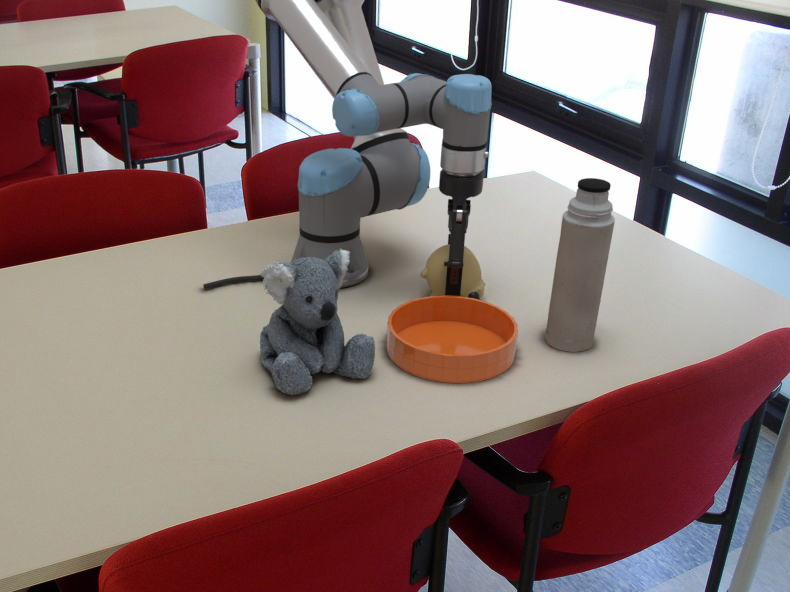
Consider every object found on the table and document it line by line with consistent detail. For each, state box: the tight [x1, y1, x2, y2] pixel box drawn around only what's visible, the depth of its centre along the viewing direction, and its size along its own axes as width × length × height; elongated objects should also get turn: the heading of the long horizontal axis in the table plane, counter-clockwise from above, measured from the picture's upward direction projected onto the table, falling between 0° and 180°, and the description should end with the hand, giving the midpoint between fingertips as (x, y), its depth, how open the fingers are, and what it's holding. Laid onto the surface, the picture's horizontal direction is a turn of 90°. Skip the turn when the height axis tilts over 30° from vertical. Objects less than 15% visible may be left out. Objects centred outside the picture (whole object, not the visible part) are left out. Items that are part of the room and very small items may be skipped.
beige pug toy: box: [420, 243, 486, 300], centre depth 166 cm, size 10×12×11 cm
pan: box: [386, 295, 519, 384], centre depth 150 cm, size 21×21×5 cm
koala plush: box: [259, 248, 376, 396], centre depth 142 cm, size 17×18×20 cm
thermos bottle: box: [544, 177, 616, 353], centre depth 147 cm, size 8×8×28 cm
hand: (452, 282), depth 167 cm, fingers open, 13 cm apart
